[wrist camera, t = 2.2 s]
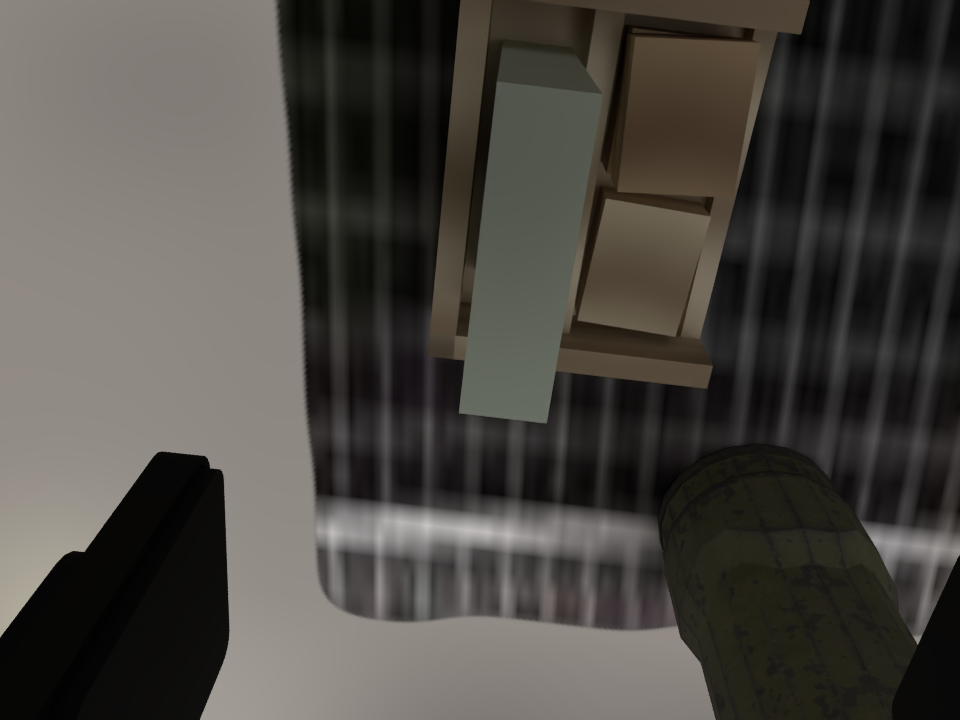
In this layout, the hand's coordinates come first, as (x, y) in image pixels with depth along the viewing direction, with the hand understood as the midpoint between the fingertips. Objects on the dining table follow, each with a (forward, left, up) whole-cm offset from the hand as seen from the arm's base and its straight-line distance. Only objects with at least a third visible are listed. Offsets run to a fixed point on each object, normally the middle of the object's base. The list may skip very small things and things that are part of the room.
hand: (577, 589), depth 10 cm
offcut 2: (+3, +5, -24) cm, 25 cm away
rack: (0, +2, -25) cm, 25 cm away
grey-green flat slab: (0, -1, -24) cm, 24 cm away
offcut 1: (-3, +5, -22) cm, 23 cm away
